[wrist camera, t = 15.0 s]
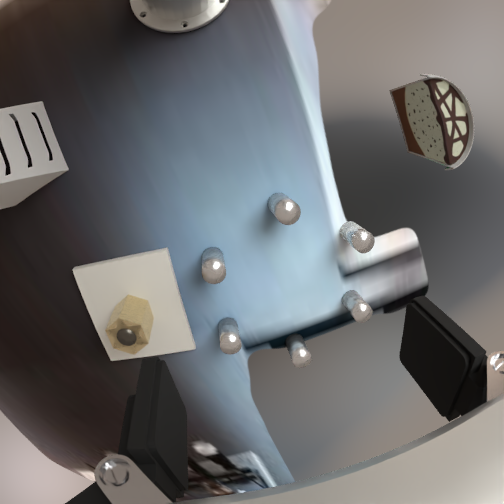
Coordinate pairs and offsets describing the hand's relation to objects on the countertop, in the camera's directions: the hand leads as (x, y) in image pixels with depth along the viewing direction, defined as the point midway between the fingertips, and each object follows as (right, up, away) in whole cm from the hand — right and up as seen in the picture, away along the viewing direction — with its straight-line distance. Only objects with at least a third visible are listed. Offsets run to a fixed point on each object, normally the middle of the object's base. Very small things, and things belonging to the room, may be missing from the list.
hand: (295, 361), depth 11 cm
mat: (-18, -4, +32) cm, 37 cm away
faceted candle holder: (-18, -4, +31) cm, 36 cm away
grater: (-32, +17, +22) cm, 42 cm away
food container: (+22, +23, +27) cm, 42 cm away
